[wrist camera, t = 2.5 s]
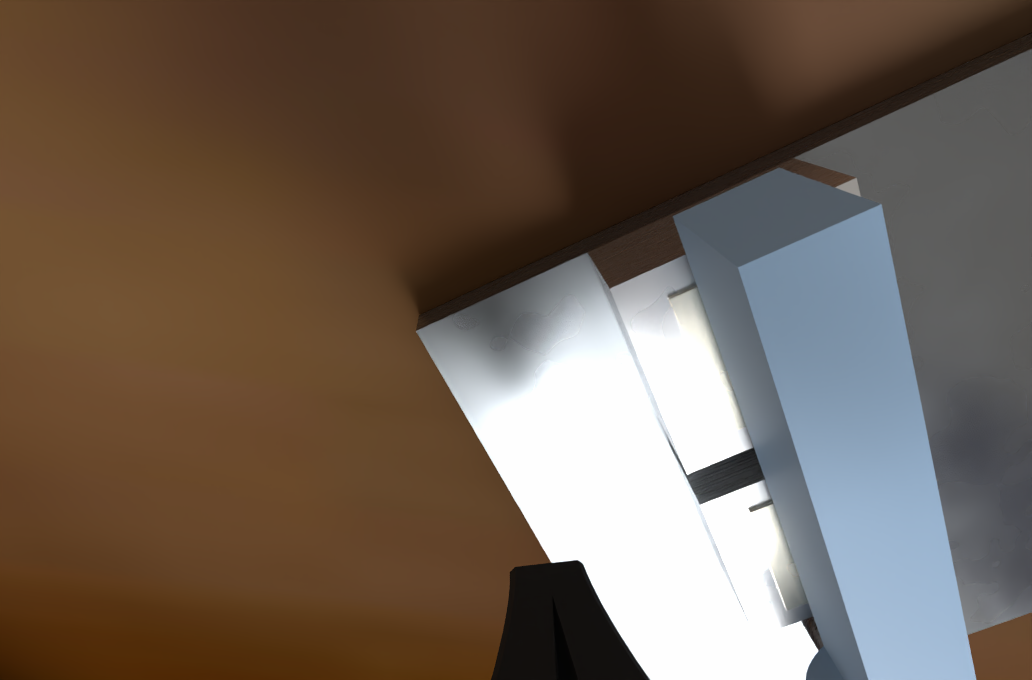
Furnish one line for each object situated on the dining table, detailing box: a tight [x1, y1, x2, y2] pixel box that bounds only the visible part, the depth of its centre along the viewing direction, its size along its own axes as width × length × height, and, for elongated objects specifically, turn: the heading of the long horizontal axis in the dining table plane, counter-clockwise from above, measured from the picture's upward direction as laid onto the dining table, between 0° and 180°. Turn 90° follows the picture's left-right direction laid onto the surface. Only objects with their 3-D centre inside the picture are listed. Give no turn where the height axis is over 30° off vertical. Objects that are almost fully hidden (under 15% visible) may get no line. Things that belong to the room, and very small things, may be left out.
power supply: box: [670, 444, 813, 637], centre depth 16 cm, size 5×5×3 cm
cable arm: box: [673, 168, 976, 680], centre depth 13 cm, size 16×4×3 cm, turn 25°
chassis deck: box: [416, 33, 1032, 680], centre depth 18 cm, size 18×18×1 cm
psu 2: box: [588, 158, 861, 474], centre depth 14 cm, size 5×5×3 cm
